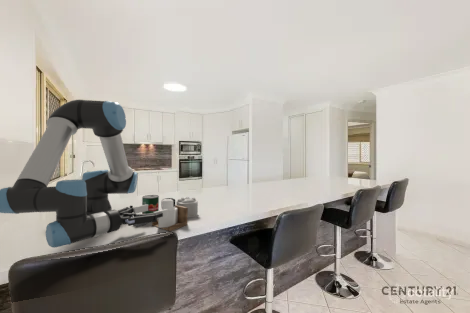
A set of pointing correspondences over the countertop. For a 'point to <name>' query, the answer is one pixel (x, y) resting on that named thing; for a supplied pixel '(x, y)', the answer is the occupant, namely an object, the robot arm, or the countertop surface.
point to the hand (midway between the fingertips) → (157, 209)
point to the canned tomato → (151, 203)
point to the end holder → (181, 219)
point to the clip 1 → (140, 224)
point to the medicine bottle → (172, 213)
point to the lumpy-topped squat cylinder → (189, 205)
